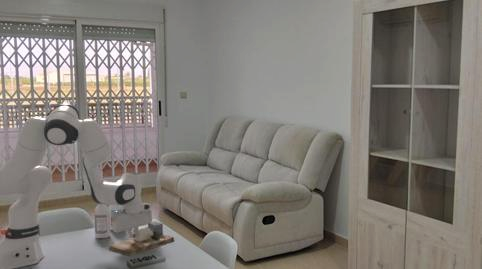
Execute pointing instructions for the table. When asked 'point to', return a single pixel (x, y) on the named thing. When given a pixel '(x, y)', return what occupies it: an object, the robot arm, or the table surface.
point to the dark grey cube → (156, 227)
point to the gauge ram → (143, 233)
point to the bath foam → (102, 221)
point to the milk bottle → (112, 210)
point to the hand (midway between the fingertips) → (132, 237)
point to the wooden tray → (139, 244)
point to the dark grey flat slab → (154, 235)
